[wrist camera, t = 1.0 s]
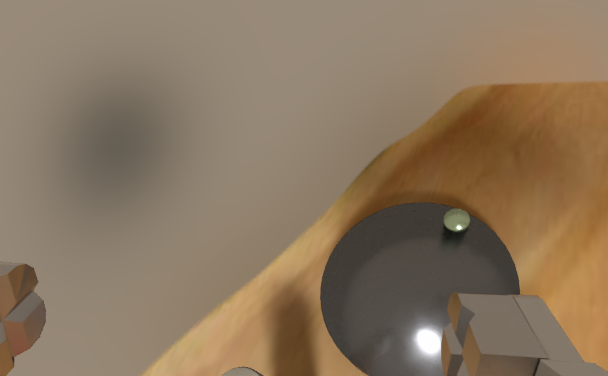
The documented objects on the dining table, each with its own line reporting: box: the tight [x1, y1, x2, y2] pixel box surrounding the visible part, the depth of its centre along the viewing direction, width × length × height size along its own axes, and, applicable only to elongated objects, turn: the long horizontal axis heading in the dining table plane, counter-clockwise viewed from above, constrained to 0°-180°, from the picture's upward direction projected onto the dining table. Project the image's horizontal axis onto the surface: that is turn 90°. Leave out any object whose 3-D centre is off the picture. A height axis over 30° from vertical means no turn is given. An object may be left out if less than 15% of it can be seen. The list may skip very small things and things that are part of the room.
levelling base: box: [320, 202, 520, 376], centre depth 42 cm, size 18×18×4 cm
